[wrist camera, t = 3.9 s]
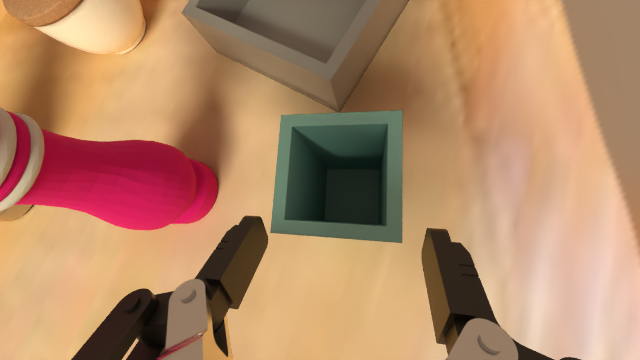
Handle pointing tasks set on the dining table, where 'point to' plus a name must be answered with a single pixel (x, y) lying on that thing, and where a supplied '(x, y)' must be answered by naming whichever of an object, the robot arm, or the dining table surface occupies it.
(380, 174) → the teal crate
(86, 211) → the pepper mill
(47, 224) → the dining table surface
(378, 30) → the tray
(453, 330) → the robot arm
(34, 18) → the lidded jar
